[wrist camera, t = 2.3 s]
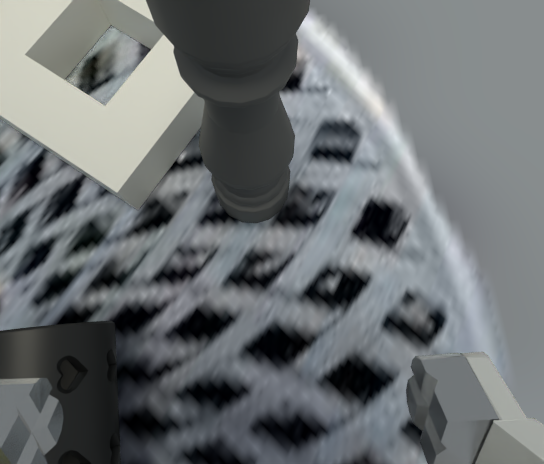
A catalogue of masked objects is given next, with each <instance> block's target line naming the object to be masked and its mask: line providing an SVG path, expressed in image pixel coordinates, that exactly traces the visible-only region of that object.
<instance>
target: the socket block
mask: <svg viewBox="0 0 544 464" xmlns="http://www.w3.org/2000/svg"><path fill="white" fill-rule="evenodd" d="M111 25H112V26H113V27H115V28H117V29H118V30H120V31H122V32H123V33H125V34H126V35H128V36H130V37H131V38H133V39H135V40H136V41H138V42H140V43H141V44H143V45H145V46H146V47H148V48H149V49H151V51H150V52H149V53H148V54H147V56H146V57H145V58H144V59H143V61H142V62H141V63H140V64H139V65H138V67H137V68H136V69H135V70H134V72H133V73H132V74H131V75H130V76H129V78H128V79H127V80H126V81H125V83H124V84H123V85H122V86H121V87H120V89H119V90H118V91H117V92H116V94H115V95H114V96H113V97H112V98H111V100H110V101H109V102H108V103H107V105H106V106H104V105H103V104H101V103H100V102H98V101H97V100H95V99H93V98H92V97H90V96H89V95H87V94H86V93H84V92H82V91H81V90H79V89H78V88H76V87H75V86H73V85H71V84H70V83H68V82H67V81H65V79H66V77H67V76H68V75H69V74H70V73H71V72H72V70H73V69H74V68H75V67H76V66H77V64H78V63H79V62H80V61H81V60H82V59H83V57H84V56H85V55H86V54H87V53H88V52H89V50H90V49H91V48H92V47H93V46H94V45H95V43H96V42H97V41H98V40H99V39H100V37H101V36H102V35H103V34H104V33H105V32H106V30H107V29H108V28H109V27H110V26H111ZM173 50H174V45H173V44H172V43H171V42H170V41H169V40H168V39H167V38H166V36H165V35H164V34H163V33H162V32H161V31H160V30H159V29H158V28H157V26H156V25H155V23H154V20H153V18H152V15H151V13H150V10H149V7H148V5H147V2H146V0H0V119H1V120H2V121H4V122H5V123H7V124H8V125H10V126H11V127H13V128H14V129H16V130H17V131H19V132H21V133H22V134H24V135H25V136H27V137H28V138H30V139H31V140H33V141H34V142H36V143H37V144H39V145H40V146H42V147H43V148H45V149H46V150H48V151H49V152H51V153H52V154H54V155H55V156H57V157H58V158H60V159H61V160H63V161H64V162H66V163H67V164H69V165H70V166H72V167H73V168H75V169H76V170H78V171H79V172H81V173H82V174H84V175H85V176H87V177H88V178H90V179H91V180H93V181H94V182H96V183H97V184H99V185H100V186H102V187H103V188H105V189H106V190H108V191H109V192H111V193H112V194H114V195H115V196H117V197H118V198H120V199H121V200H123V201H124V202H126V203H127V204H129V205H130V206H132V207H133V208H135V209H136V210H139V209H140V207H141V206H142V205H143V203H144V202H145V201H146V199H147V198H148V197H149V195H150V194H151V193H152V191H153V190H154V189H155V187H156V186H157V185H158V183H159V182H160V181H161V179H162V178H163V177H164V175H165V174H166V173H167V171H168V170H169V169H170V167H171V166H172V165H173V163H174V162H175V161H176V159H177V158H178V157H179V155H180V154H181V153H182V151H183V150H184V149H185V147H186V146H187V145H188V143H189V142H190V141H191V139H192V138H193V137H194V135H195V134H196V133H197V131H198V130H199V129H200V127H201V124H202V118H203V111H204V104H205V102H204V99H203V98H201V97H198V96H197V95H196V94H195V92H194V91H193V90H192V89H191V88H190V87H189V86H188V85H187V84H186V82H185V81H184V80H183V79H182V78H181V76H180V73H179V70H178V66H177V63H176V60H175V56H174V53H173Z"/></svg>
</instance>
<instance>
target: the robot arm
mask: <svg viewBox="0 0 544 464" xmlns="http://www.w3.org/2000/svg"><path fill="white" fill-rule="evenodd" d="M411 369H412V371H413V374H414V375H413V376H412V377H411V378H410V379H409V380H408V383H407V388H406V394H407V404H408V409H409V413H410V415H411V418H412V421H413V423H414V424H415V425H416V426H417V427H418V428H420V429H421V430H422V431H423V432H422V436H421V440H420V444H421V447H422V449H423V452H424V455H425V458H426V460H427V463H428V464H544V425H543V424H541V423H540V422H539V421H537V420H536V419H535V418H527V417H526V416H525V414H524V413H523V411H522V409H521V408H520V406H519V405H518V403H517V401H516V400H515V398H514V396H513V395H512V393H511V392H510V390H509V388H508V387H507V385H506V384H505V382H504V380H503V379H502V377H501V376H500V374H499V372H498V371H497V369H496V367H495V366H494V364H493V363H492V361H491V359H490V358H489V356H488V355H487V354H485V353H484V352H474V353H460V354H459V353H450V354H436V355H422V356H415V357H414V358H413V360H412V364H411ZM51 389H52V386H51V384H50V382H49V381H48V379H47V378H25V379H0V464H48V462H47V459H46V456H45V454H46V453H47V452H48V451H49V450H51V449H52V448H53V447H54V446H55V445H56V444H57V441H58V439H59V436H60V434H61V431H62V424H63V410H62V406H61V404H60V402H59V400H58V399H56V398H54V397H53V396H51V395H49V394H50V392H51Z"/></svg>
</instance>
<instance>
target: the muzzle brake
mask: <svg viewBox="0 0 544 464" xmlns="http://www.w3.org/2000/svg"><path fill="white" fill-rule="evenodd" d="M25 378H47V379H48V381H49V382H50V384H51V386H52V389H51V392H50V394H49V395H51V396H53V397H54V398H56V399H58V400H59V402H60V404H61V406H62V410H63V424H62V431H61V434H60V436H59V439H58V441H57V444H56V445H55V446H54V447H53V448H52V449H51V450H49V451H48V452H47V453H46V454H45V456H46V459H47V462H48V464H121V458H120V434H119V410H118V386H117V362H116V338H115V323H114V322H112V321H98V322H83V323H70V324H59V325H49V326H39V327H30V328H20V329H12V330H3V331H0V379H25Z"/></svg>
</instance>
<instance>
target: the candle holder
mask: <svg viewBox="0 0 544 464" xmlns="http://www.w3.org/2000/svg"><path fill="white" fill-rule="evenodd" d="M146 2H147V5H148V7H149V10H150V13H151V15H152V18H153V20H154V23H155V25H156V26H157V28H158V29H159V30H160V31H161V32H162V33H163V34H164V35H165V36H166V38H167V39H168V40H169V41H170V42H171V43H172V44H173V45H174V50H173V53H174V56H175V60H176V63H177V66H178V70H179V73H180V76H181V78H182V79H183V80H184V81H185V82H186V84H187V85H188V86H189V87H190V88H191V89H192V90H193V91H194V92H195V94H196V95H197V96H198V97H201V98H203V99H204V102H205V104H204V111H203V118H202V124H201V131H200V139H199V148H200V152H201V155H202V158H203V162H204V164H205V166H206V168H207V169H208V170H209V171H210V172H211V173H212V183H213V186H214V189H215V192H216V195H217V198H218V200H219V202H220V205H221V206H222V207H223V209H224V210H225V211H226V212H227V213H228V214H229V216H231V217H233V218H235V219H237V220H239V221H241V222H249V223H258V222H261V221H265V220H268V219H270V218H272V217H273V216H274V215H275V214H276V213H278V212H279V211H280V210H281V209H282V207H283V205H284V203H285V201H286V199H287V195H288V189H289V179H290V169H289V167H288V165H289V163H290V161H291V160H292V158H293V153H294V140H295V135H294V132H293V129H292V126H291V123H290V121H289V118H288V115H287V113H286V111H285V108H284V106H283V103H282V101H281V98H280V95H279V91H280V90H281V89H283V88H284V87H285V85H286V83H287V81H288V80H289V78H290V76H291V74H292V72H293V71H294V69H295V67H296V60H297V47H298V39H297V36H296V32H297V30H298V29H299V27H300V25H301V23H302V22H303V20H304V18H305V16H306V15H307V13H308V11H309V5H310V0H146Z"/></svg>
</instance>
